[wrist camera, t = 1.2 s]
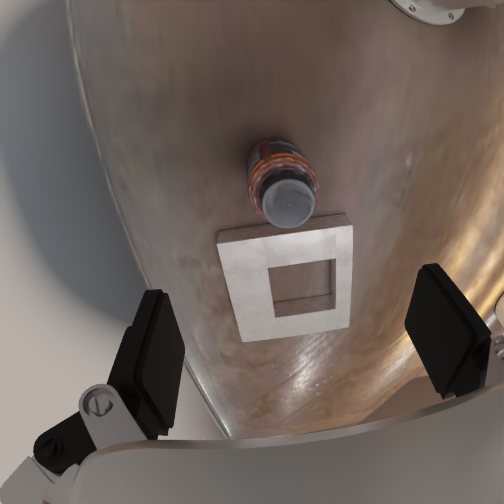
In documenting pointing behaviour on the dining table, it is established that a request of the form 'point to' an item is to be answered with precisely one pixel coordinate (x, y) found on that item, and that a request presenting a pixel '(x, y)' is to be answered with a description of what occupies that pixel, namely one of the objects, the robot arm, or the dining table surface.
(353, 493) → the robot arm
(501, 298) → the alcohol
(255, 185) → the supplement bottle
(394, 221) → the dining table surface
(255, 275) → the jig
